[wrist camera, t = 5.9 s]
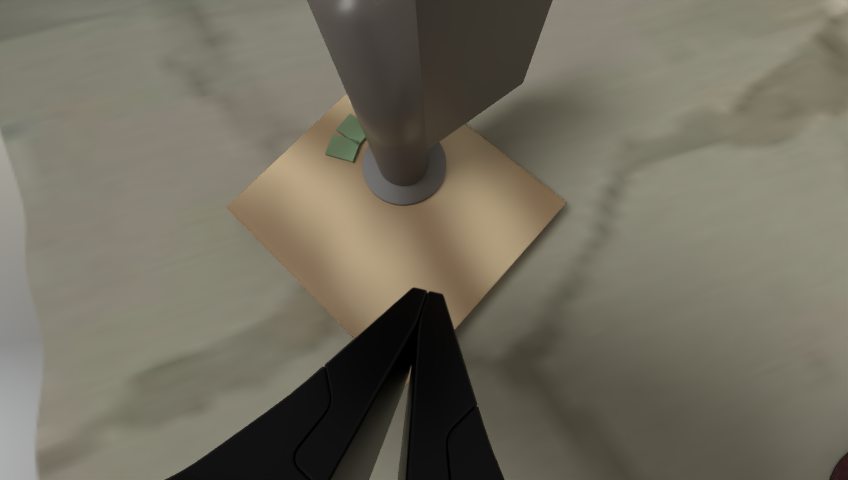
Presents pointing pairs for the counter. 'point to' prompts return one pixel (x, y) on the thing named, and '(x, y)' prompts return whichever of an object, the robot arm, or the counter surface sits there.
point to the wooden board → (393, 220)
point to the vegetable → (841, 470)
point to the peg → (425, 67)
